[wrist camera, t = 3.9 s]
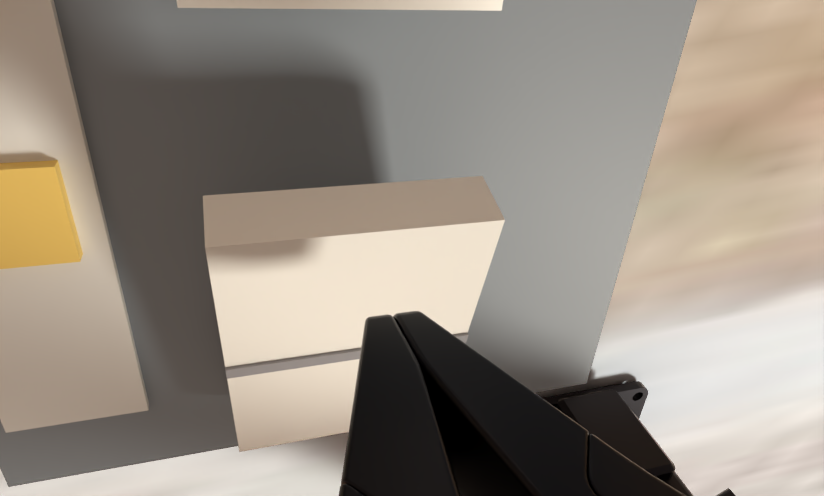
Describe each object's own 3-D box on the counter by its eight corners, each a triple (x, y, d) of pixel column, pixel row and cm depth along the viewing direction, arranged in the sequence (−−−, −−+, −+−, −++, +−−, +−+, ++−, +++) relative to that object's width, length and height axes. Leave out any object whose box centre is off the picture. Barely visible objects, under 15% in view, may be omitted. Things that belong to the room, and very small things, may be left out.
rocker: (427, 375, 16) (440, 417, 15) (235, 406, 15) (239, 454, 14) (482, 175, 11) (506, 222, 10) (202, 196, 10) (205, 251, 9)
